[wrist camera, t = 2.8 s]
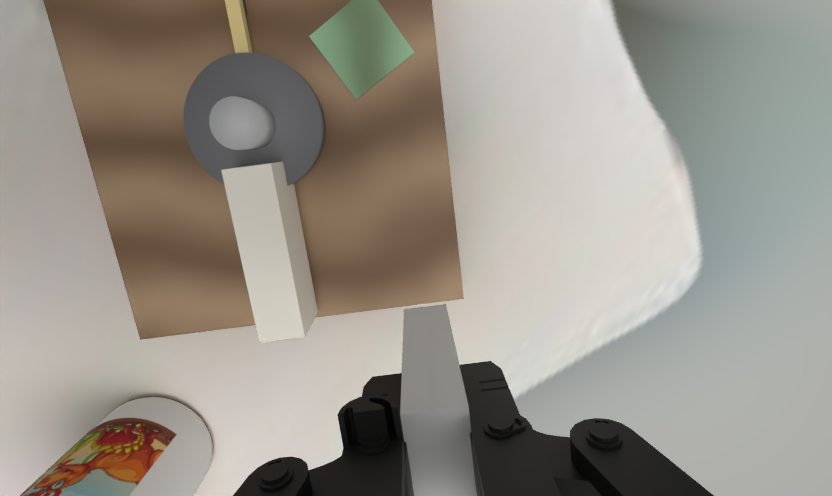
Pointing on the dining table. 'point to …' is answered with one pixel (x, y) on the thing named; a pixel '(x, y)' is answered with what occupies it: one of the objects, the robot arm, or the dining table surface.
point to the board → (316, 192)
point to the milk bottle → (134, 454)
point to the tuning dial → (260, 171)
